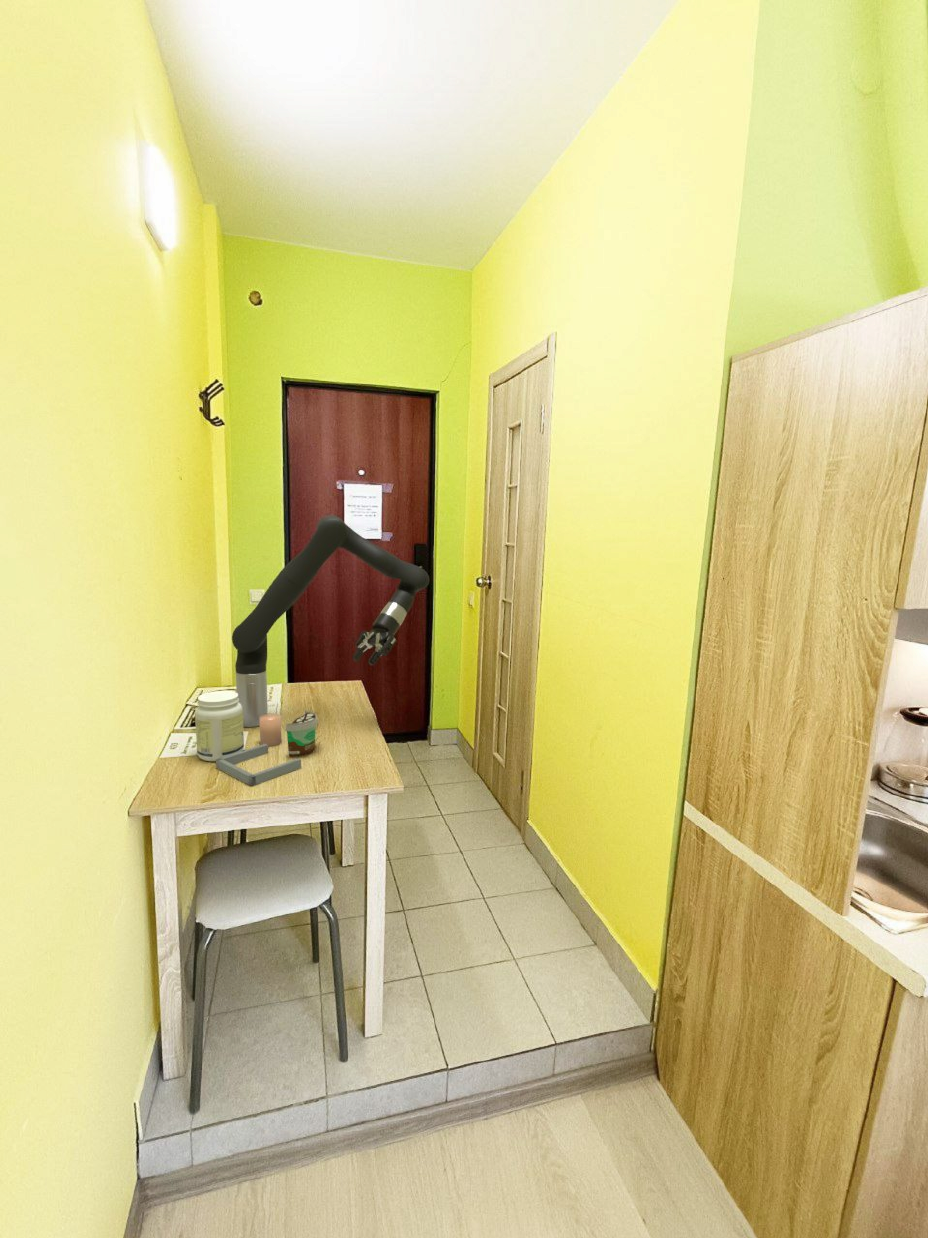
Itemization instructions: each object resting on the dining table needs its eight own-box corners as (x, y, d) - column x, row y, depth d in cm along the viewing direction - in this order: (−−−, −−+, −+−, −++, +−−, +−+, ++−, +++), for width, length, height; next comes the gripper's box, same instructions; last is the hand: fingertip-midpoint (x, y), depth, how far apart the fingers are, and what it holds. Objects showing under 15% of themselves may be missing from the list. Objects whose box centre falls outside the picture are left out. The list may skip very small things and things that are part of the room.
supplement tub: (244, 744, 171) (242, 688, 168) (243, 760, 160) (241, 700, 157) (199, 748, 167) (196, 691, 164) (194, 765, 156) (191, 704, 153)
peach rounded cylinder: (256, 743, 172) (255, 717, 171) (273, 737, 177) (273, 712, 175) (268, 748, 168) (267, 721, 167) (285, 742, 173) (285, 716, 172)
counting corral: (216, 768, 154) (216, 759, 154) (265, 751, 166) (265, 743, 165) (251, 786, 144) (251, 777, 144) (301, 767, 156) (300, 759, 155)
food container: (306, 760, 160) (306, 726, 159) (286, 758, 162) (285, 724, 160) (326, 744, 172) (325, 711, 171) (306, 742, 174) (306, 710, 172)
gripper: (368, 609, 189) (340, 651, 182) (400, 614, 180) (372, 658, 173) (380, 623, 194) (353, 664, 187) (412, 629, 185) (385, 672, 178)
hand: (362, 661), depth 180 cm, fingers open, 6 cm apart
